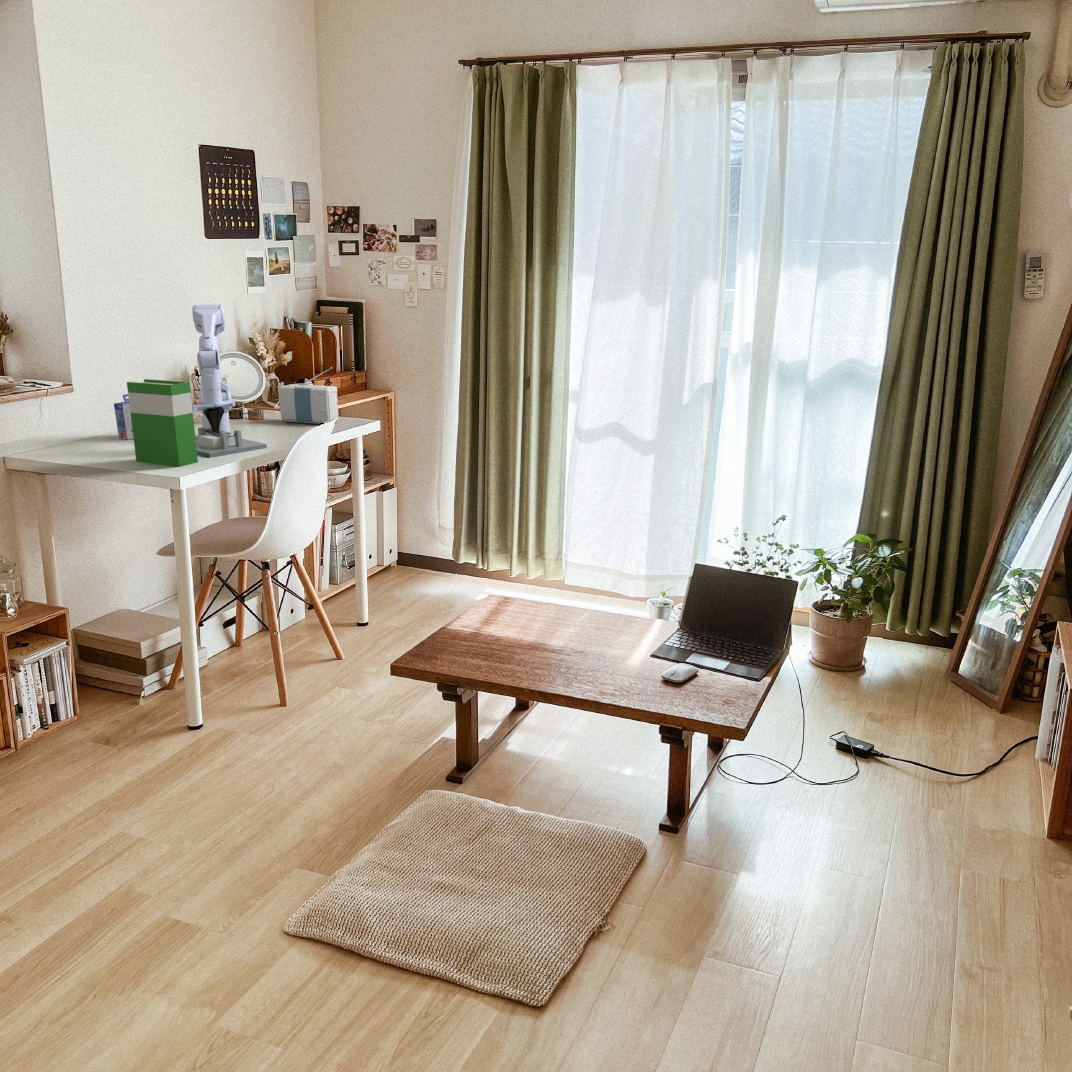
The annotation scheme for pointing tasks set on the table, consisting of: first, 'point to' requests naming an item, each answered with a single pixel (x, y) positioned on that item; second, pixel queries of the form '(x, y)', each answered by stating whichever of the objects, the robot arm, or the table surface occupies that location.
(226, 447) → the board
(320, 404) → the stereo radio cassette player
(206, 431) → the clamp bar
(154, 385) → the hardback book
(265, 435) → the table surface
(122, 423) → the ink cartridge box
